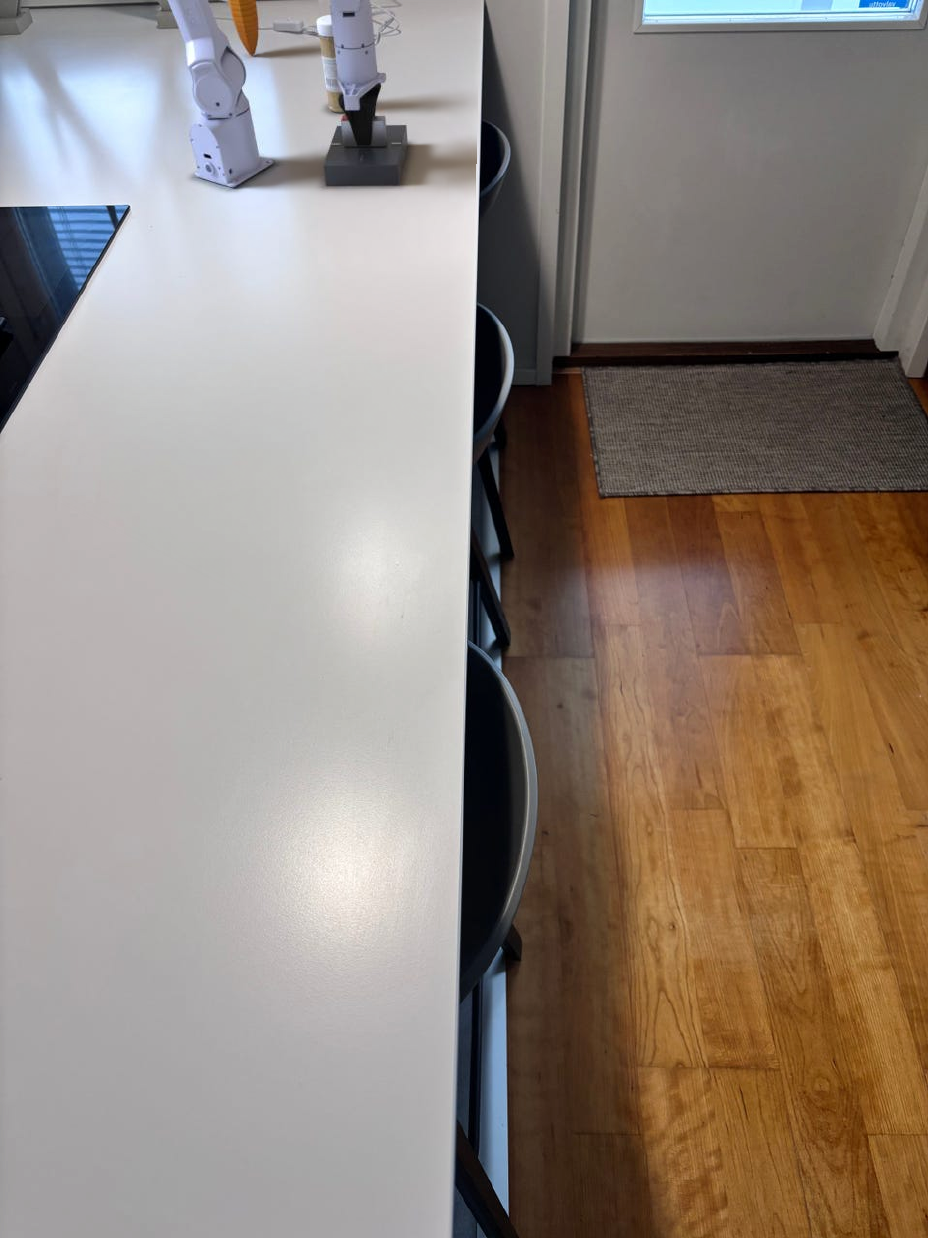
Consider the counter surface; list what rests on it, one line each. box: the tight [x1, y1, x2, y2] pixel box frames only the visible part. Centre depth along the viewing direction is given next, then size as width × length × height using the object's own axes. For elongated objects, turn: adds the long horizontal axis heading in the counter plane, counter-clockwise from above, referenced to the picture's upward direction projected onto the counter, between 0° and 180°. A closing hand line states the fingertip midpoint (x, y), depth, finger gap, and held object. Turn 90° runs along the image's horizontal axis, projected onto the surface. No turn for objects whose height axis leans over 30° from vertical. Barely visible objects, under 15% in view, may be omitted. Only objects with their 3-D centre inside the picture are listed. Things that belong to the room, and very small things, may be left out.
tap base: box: [322, 124, 409, 187], centre depth 145 cm, size 14×11×3 cm
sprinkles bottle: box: [316, 14, 344, 113], centre depth 156 cm, size 5×5×13 cm
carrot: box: [227, 0, 259, 57], centre depth 173 cm, size 5×5×15 cm
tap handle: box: [340, 114, 388, 147], centre depth 143 cm, size 6×2×4 cm, turn 86°
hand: (365, 141), depth 144 cm, fingers closed on tap handle, 2 cm apart
